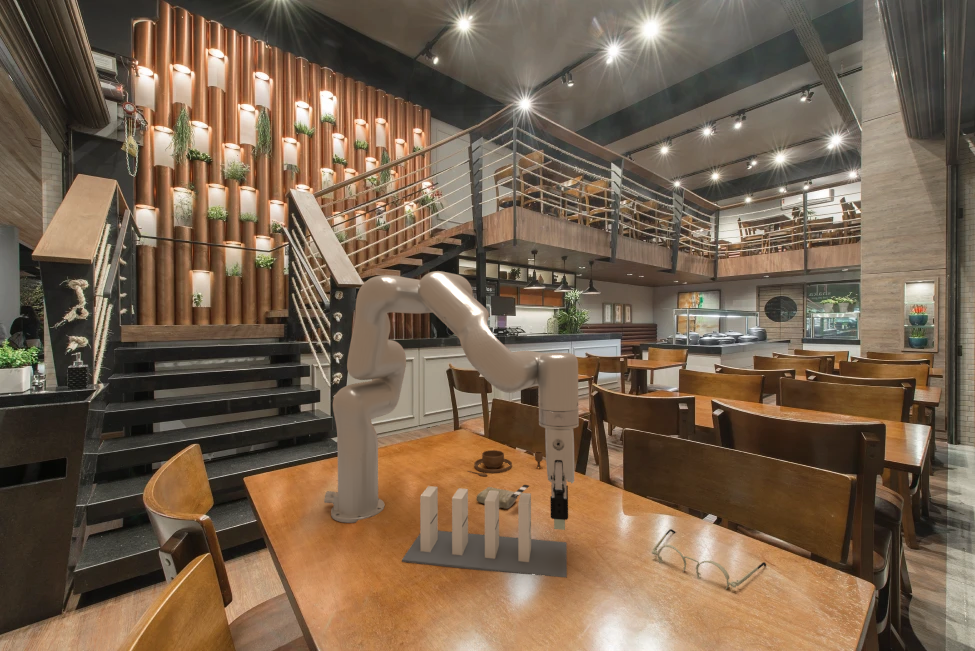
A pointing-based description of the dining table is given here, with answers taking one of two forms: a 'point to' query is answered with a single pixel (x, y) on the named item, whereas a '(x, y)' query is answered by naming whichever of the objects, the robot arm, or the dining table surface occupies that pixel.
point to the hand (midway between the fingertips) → (559, 510)
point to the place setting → (498, 462)
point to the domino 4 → (524, 527)
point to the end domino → (558, 522)
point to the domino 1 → (429, 518)
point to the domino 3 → (491, 524)
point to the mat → (542, 561)
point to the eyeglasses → (703, 562)
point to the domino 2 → (459, 521)
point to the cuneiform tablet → (502, 496)
